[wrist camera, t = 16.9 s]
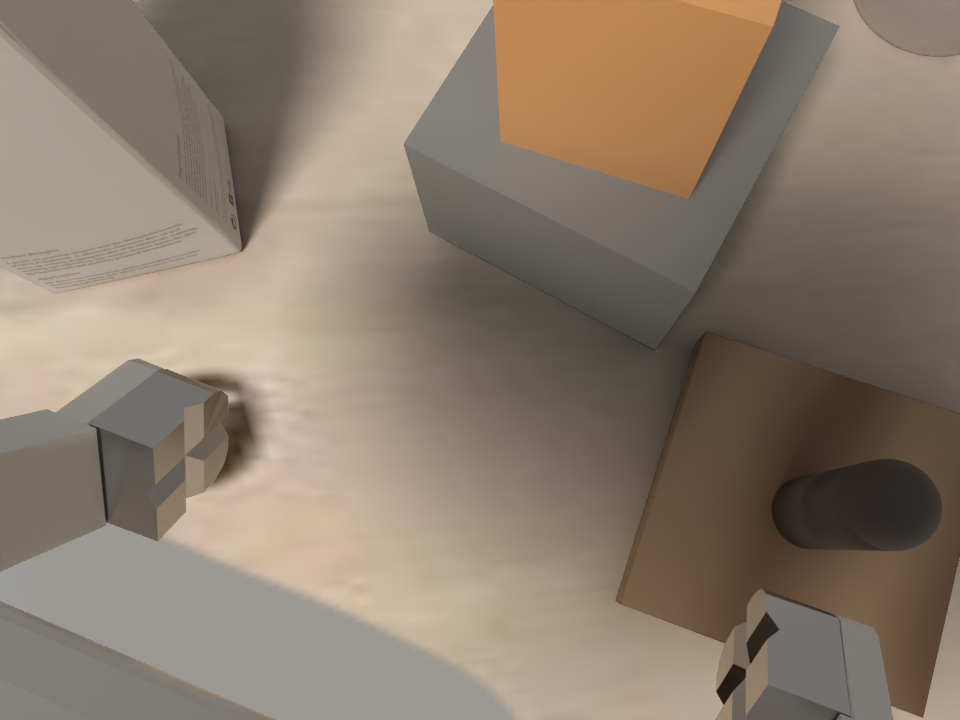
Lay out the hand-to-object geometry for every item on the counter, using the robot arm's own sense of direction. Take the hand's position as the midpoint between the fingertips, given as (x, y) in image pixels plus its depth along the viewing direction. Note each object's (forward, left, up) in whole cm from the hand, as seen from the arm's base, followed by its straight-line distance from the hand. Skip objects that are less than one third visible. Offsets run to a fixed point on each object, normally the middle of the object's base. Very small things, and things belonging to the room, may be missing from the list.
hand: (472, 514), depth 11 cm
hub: (+3, -14, -17) cm, 22 cm away
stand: (-9, -6, -17) cm, 20 cm away
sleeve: (+3, -14, -10) cm, 17 cm away
